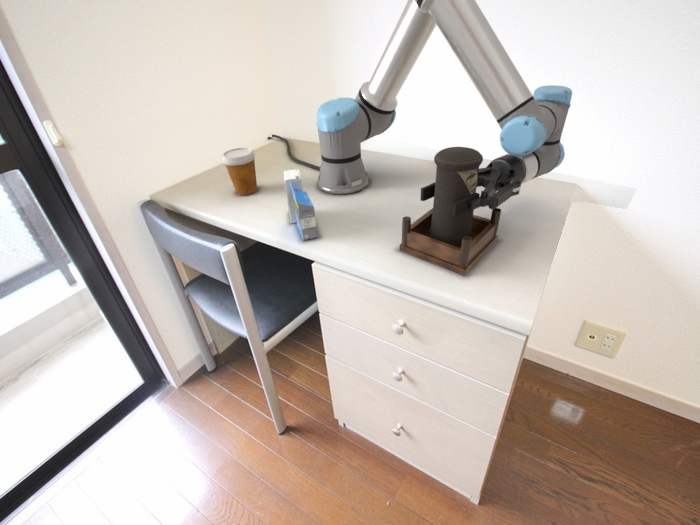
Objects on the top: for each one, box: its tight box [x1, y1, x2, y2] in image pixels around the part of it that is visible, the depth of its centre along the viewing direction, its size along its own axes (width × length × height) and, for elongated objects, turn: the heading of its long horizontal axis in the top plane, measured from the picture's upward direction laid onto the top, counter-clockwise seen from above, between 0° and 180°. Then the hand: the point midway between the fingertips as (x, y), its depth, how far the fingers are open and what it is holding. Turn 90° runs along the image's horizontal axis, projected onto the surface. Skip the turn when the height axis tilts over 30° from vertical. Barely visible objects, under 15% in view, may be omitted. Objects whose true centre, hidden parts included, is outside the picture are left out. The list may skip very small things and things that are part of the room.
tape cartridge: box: [289, 180, 319, 241], centre depth 88 cm, size 9×4×12 cm, turn 17°
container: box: [430, 146, 484, 248], centre depth 75 cm, size 9×9×20 cm
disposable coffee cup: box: [221, 147, 258, 196], centre depth 110 cm, size 10×10×12 cm
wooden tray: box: [399, 207, 502, 277], centre depth 80 cm, size 16×16×8 cm
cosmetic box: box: [283, 168, 304, 224], centre depth 94 cm, size 6×4×12 cm
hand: (437, 202), depth 73 cm, fingers closed on container, 8 cm apart
